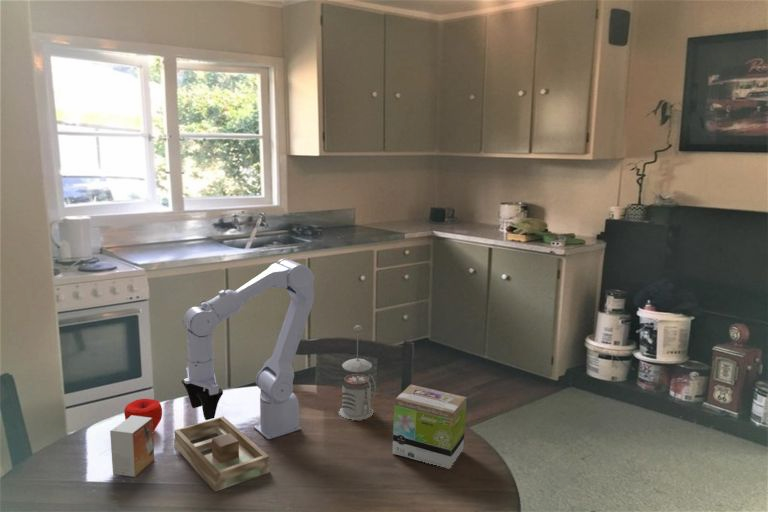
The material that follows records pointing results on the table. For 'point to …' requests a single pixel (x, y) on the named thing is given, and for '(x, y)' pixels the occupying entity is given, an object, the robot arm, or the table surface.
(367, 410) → the french press
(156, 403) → the apple
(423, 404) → the tea box
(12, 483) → the table surface
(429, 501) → the table surface
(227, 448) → the walnut block
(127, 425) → the small box
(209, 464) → the box
